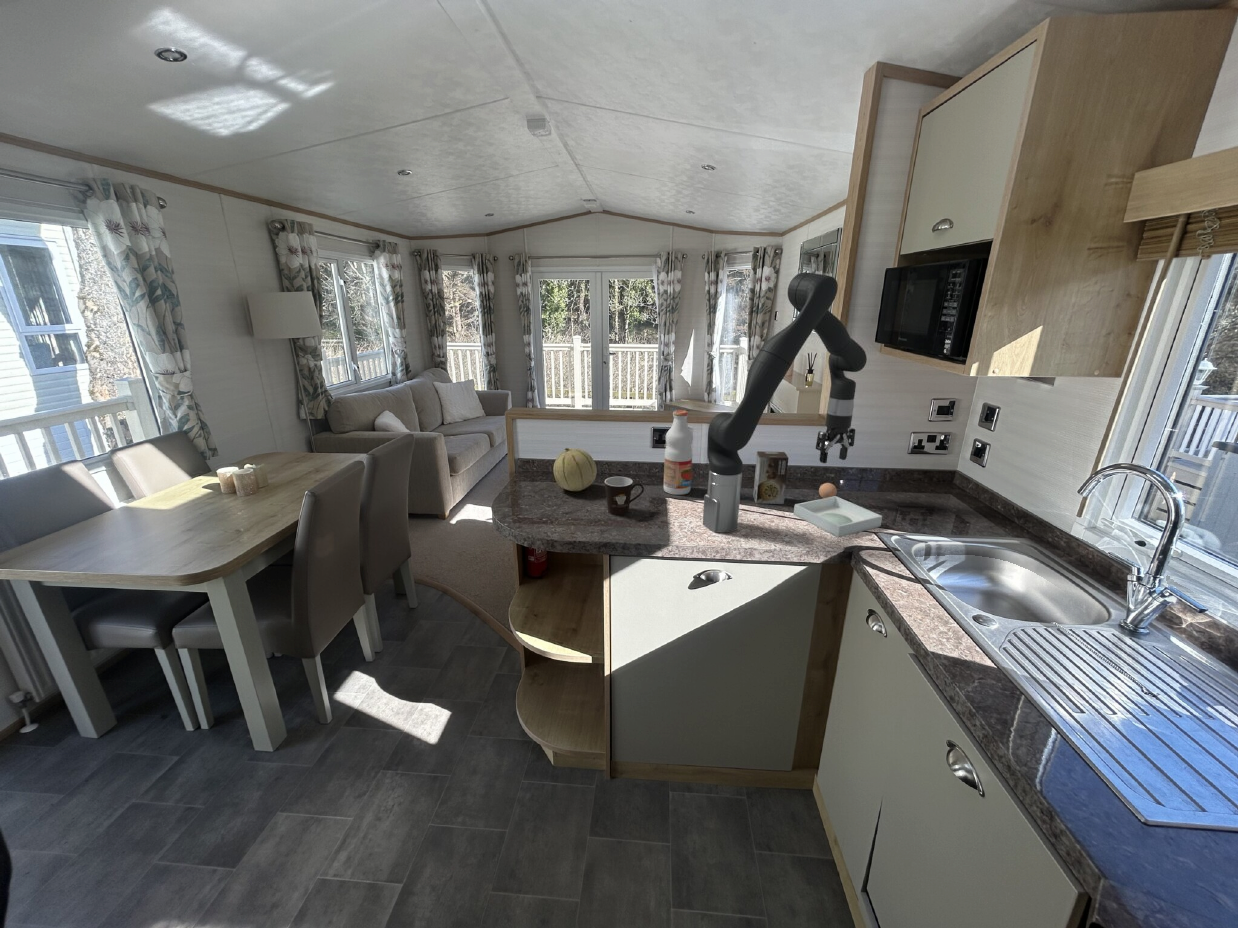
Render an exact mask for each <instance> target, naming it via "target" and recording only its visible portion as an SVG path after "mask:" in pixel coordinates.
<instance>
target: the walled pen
mask: <svg viewBox="0 0 1238 928" xmlns="http://www.w3.org/2000/svg"><path fill="white" fill-rule="evenodd" d="M793 515H794V516H795V517H797V518H799V519H801V520H803V521H805V522H807V523H808V524H811V525H812V526H815V527H816V528H819V529H821V530H822V531H824V532H827V533H828V534H830V535H832V536H834V537H836V538H842V537H845V536H850V535H853V534H857V533H861V532H864V531H869V529H870V530H873V529H877V528H881V525H882V521H883V516H882V515H881V514H878V513H876V512H874V511H872V510H869V509H867V508H865V507H862V506H860V505H857V504H855V503H853V502H850V501H848V500H846V499H843V498H841V497H839V496H833V497H829V498H820V499H815V500H810V501H805V502H801V503H795V504H794V508H793Z"/></svg>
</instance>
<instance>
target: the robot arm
mask: <svg viewBox="0 0 1238 928" xmlns="http://www.w3.org/2000/svg"><path fill="white" fill-rule="evenodd" d="M838 286H839V285H838V281H837V279H836V278H835V277H833V276H831V275H827V274H821V273H816V272H800V273H798V274H796V275H795V276H793V277H792V279H791V281H790V282H789V284H788V288H787V299H788V300H789V304H791V306H792V307H793V308H794V309H795V310H796V311H798V314H797V316H796V317H795V319H793V321H791V322H790V323H789V324H788V325H787V326H785V327H784V328H783V329H782V330H780V331H778V332H777V333H776V334H775V335H773V336H772V337H771V338H769V339H768V340H767V341H765V342H764V344H763V345H762V346H761V347H760V349H759V351H758V353H757V354H756V356H755V357H754V359H753V361H752V362H751V364H750V366H749V370H748V373H747V379H746V384H745V391H744V394H743V398H742V399H741V402H740V403H739V405H738V406H737V407H736V410H735V411H734V413H733V414H732V413H729V412H720V413H718V414H716V415H715V416H714V417H712V419H711V421H710V423H709V425H708V430H707V451H706V452H707V454H706V455H707V461H708V465H709V468H708V483H707V493H706V494H704V498H703V499H704V501H703V511H702V512H703V516H702V525H703V526H705V527H706V528H707V529H709V530H710V531H712V532H713V533H718V532H719V533H731V532H735V531H737V529H738V524H739V513H740V503H741V501H740V500H741V490H742V481H743V480H742V479H743V470H744V469H743V468H744V465H743V461H742V459H741V457H740V455H739V452H738V451H741V450H742V449H743V448H744V447H746V446H747V445H748V443H749V442H750V440H751V438H752V436H753V435H754V433H755V432H756V428H757V426H758V425H759V422H760V420H761V417H762V415H763V413H764V411H765V410H766V408H767V407H768V405H769V403H770V401H771V399H772V398H773V396H774V395H775V392H776V390H777V389H778V387H779V385H781V383H782V381H783V379H784V378H785V377H786V375H787V373H788V371H789V370H790V369H791V366H792V364H793V363H794V361H795V359H796V357H797V356H798V354H799V352H800V351H801V349H802V347H803V346H804V344H805V343H806V342H807V340H808V338H809V337H810V335H811V334H812V333H813V331H814V332H815V333H816V334H817V335H818V337H819V339H820V340H821V343H822V344H823V346H824V347H825V349H826V350H827V352H828V353H829V356H828V362H827V363H828V369H829V375H830V376H829V377H830V385H831V386H830V392H829V393H830V394H829V400H828V402H827V407H826V408H827V410H826V415H825V416H826V417H825V422H824V423H825V426H826V431H818V432H817V438H816V444H815V450H818V451H819V452H820V453H819V462H820V463H822V464H827V463H828V456H829V450H830V449H831V448H833V447H834V445H837V444H839V445H840V449H839V457H838V458H839V460H842V461H845V460H846V459H847V457H848V453H849V452H848V450H849V449H850V448H851V447H854V445H855V439H856V438H855V437H856V428H853V427H851V426H852V421H853V415H854V414H853V413H854V406H855V405H854V404H855V401H854V400H855V395H856V394H855V393H856V389H857V387H856V386H857V383H856V381H855V380H853V379H852V378H849V377H847V376H846V375H845V373H844V372H850V373H857V372H860V371H862V370H863V369H864V368H865V366H866V364H867V360H868V359H867V353H866V351H865V349H864V348H863V347H862V346H861V345H860V344H859V343H858V342H857V341H855V340H854V339H853V338H852V337H851V336H850V334H849V332H848V330H847V327H846V326H845V324H844V323H843V322H842V321H841V319H839V318H838V317H837V316H835V314H833V313H832V312H831V311H830V310H829V309H830V308H831V306H832V305H833V302H834V301H835V299H836V296H837V294H838V290H839V289H838V288H839V287H838Z"/></svg>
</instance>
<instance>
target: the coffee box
mask: <svg viewBox="0 0 1238 928" xmlns="http://www.w3.org/2000/svg"><path fill="white" fill-rule="evenodd" d="M788 465H789V456H788V454H787V453H786V452H785V451H759V450H757V451H756V462H755V472H754V484H753V485H754V486H753V494H752V496H753V500H754V503H756V504H764V505H766V504H767V505H770V504H772V505H774V504H775V505H784V504H785V496H786V488H787V487H786V486H787V478H788V477H787V476H788V467H789V466H788Z"/></svg>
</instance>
